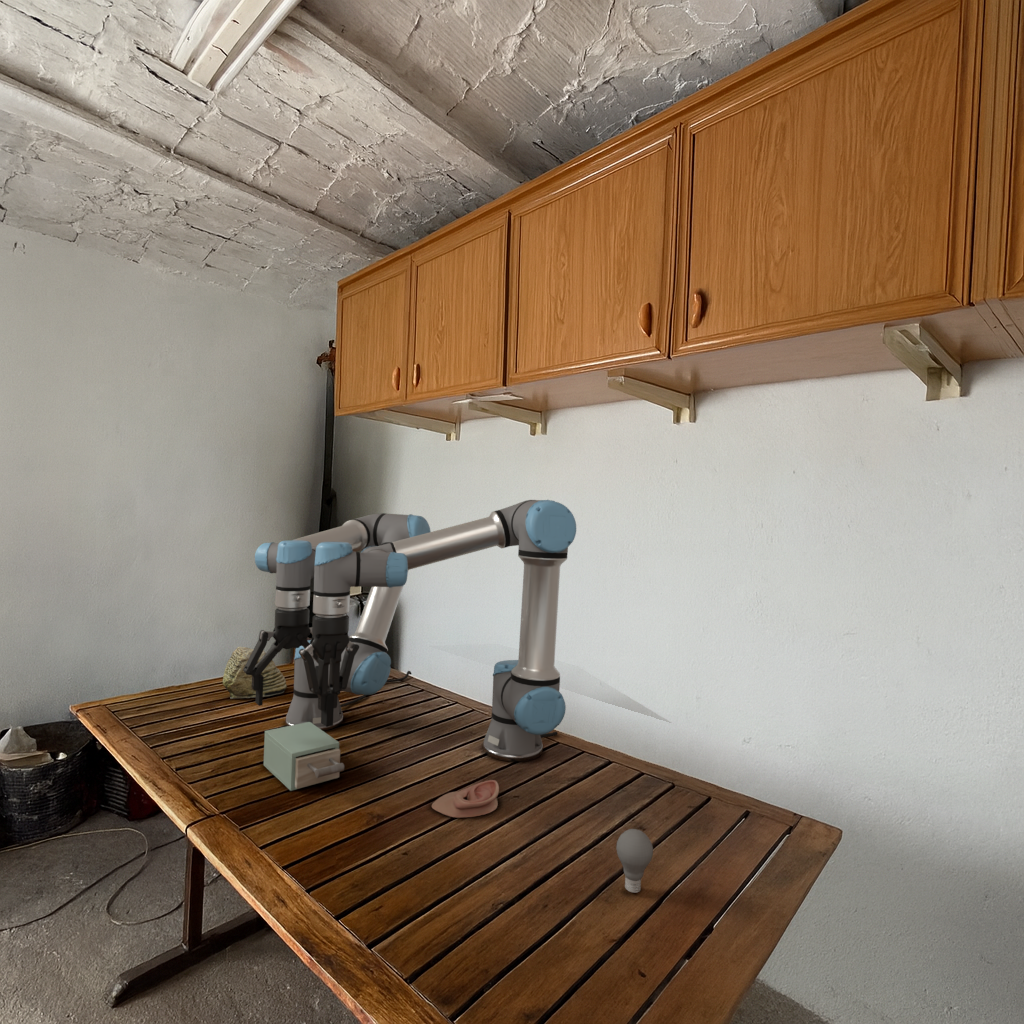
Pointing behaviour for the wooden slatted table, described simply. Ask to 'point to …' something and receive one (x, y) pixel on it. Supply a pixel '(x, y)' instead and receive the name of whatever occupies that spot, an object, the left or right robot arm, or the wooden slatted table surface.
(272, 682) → the fossil
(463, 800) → the anatomical model
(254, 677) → the left robot arm
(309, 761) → the drawer
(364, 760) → the wooden slatted table surface
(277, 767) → the cabinet
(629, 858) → the light bulb
